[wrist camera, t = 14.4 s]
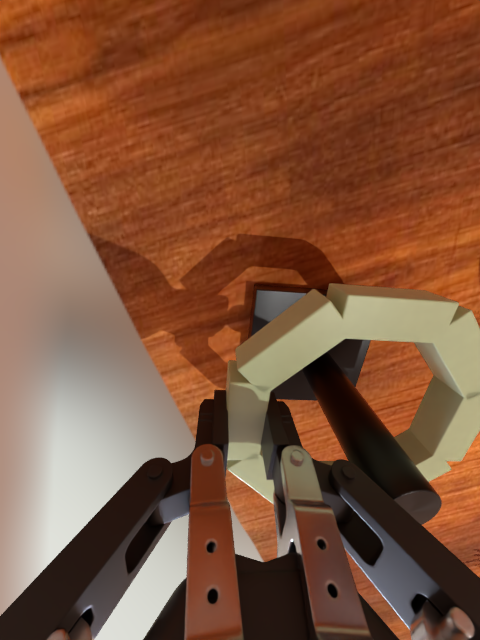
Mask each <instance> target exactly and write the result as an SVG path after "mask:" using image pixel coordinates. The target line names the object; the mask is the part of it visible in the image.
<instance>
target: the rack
mask: <svg viewBox="0 0 480 640" xmlns="http://www.w3.org/2000/svg"><path fill="white" fill-rule="evenodd" d="M311 290H312V289H309V288H296V287H283V286H269V285H256V284H255V285H254V292H253V301H252V309H251V318H250V327H249V335H248V339H249V338H250V337H251V336H253V335H254V334H255V333H257V332H258V331H259V330H261V329H262V328H263V327H264V326H266V325H267V324H268V323H270V322H271V321H272V320H273V319H275V318H276V317H277V316H279V315H280V314H281V313H283V312H284V311H285V310H286V309H288V308H289V307H290V306H292V305H293V304H294V303H296V302H297V301H298V300H299V299H301V298H302V297H303V296H305V295H306V294H307V293H308V292H310V291H311ZM316 290H317V291H318V292H320V293H321V294H322V295H323V296H325V297H326V295H327V291H328V290H323V289H316ZM370 341H371V340H363V339H344V340H343V341H341V342H340V343H338V344H337V345H336V346H334V347H333V348H331V349H330V350H328V351H327V352H326V353H324V354H323V355H321V356H320V357H318V358H317V359H316V360H314V361H313V362H311V363H310V364H308V365H307V366H306V367H304V368H303V369H301V370H300V371H298V372H297V373H296V374H294V375H293V376H291V377H290V378H288V379H287V380H286V381H284V382H283V383H281V384H280V385H278V386H277V387H276V388H274V389H273V390H271V391H270V392H274V393H275V396H276V399H288V400H318V402H319V404H320V406H321V408H322V410H323V412H324V414H325V416H326V418H327V420H328V422H329V424H330V425H331V427H332V429H333V431H334V433H335V435H336V437H337V439H338V441H339V443H340V445H341V447H342V449H343V451H344V453H345V455H346V457H347V459H348V461H349V462H351V463H353V464H355V465H356V466H357V467H358V468H359V469H360V470H361V471H363V472H364V473H365V474H366V475H367V476H368V477H369V478H370V479H371V480H372V481H374V482H375V483H376V484H377V485H378V486H379V487H380V488H381V489H382V490H383V491H385V492H386V493H387V494H388V495H389V496H390V497H391V498H392V499H393V500H394V501H396V502H397V503H398V504H399V505H400V506H401V507H402V508H403V509H404V510H405V511H406V512H408V513H409V514H410V515H411V516H412V517H413V518H414V519H415V520H416V521H417V522H419V523H420V524H421V525H422V524H424V523H426V522H427V521H429V520H430V519H432V518H433V517H434V516H435V515H436V514H437V513H438V511H439V510H440V508H441V499H440V497H439V495H438V494H437V493H436V491H435V490H434V489H433V487H432V486H431V485H430V483H429V482H428V481H427V480H426V478H425V477H424V476H423V474H422V473H421V472H420V471H419V469H418V468H417V467H416V465H415V464H414V463H413V461H412V460H411V459H410V458H409V456H408V455H407V454H406V452H405V451H404V450H403V449H402V447H401V446H400V445H399V443H398V442H397V441H396V440H395V438H394V437H393V436H392V434H391V433H390V432H389V430H388V429H387V428H386V427H385V425H384V424H383V423H382V421H381V420H380V419H379V418H378V416H377V415H376V414H375V412H374V411H373V410H372V408H371V407H370V406H369V405H368V403H367V402H366V401H365V399H364V398H363V397H362V396H361V394H360V393H359V392H358V390H357V389H356V388H355V386H356V383H357V380H358V377H359V374H360V371H361V368H362V365H363V362H364V359H365V356H366V353H367V350H368V347H369V344H370Z"/></svg>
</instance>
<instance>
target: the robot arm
mask: <svg viewBox="0 0 480 640" xmlns="http://www.w3.org/2000/svg"><path fill="white" fill-rule="evenodd" d="M228 447H229V431H228V410H227V401H226V390H215V391H214V399H204V401H203V402H202V404H201V405H200V410H199V418H198V426H197V435H196V443H195V448H194V450H193V452H192V453H191V454H190V455H189V456H188V457H187V458H185V459H183V460H181V461H178V462H175V463H170V462H169V461H168V460H167V459H165V458H154V459H151V460H149V461H147V462H145V463H144V464H143V465H142V466H141V467H140V468H139V469H138V471H136V473H135V474H134V475H133V476H132V477H131V478H130V479H129V480H128V481H127V482H126V483H125V484H124V485H123V486H122V487H121V489H120V490H119V491H118V492H117V493H116V494H115V495H114V496H113V497H112V498H111V499H110V500H109V501H108V502H107V503H106V505H105V506H104V507H103V508H102V509H101V510H100V511H99V512H98V513H97V514H96V515H95V516H94V517H93V518H92V519H91V520H90V521H89V522H88V524H87V525H86V526H85V527H84V528H83V529H82V530H81V531H80V532H79V533H78V534H77V535H76V536H75V537H74V538H73V539H72V541H71V542H70V543H69V544H68V545H67V546H66V547H65V548H64V549H63V550H62V551H61V553H59V554H58V555H57V556H56V558H55V559H54V560H53V561H52V562H51V563H50V564H49V565H48V566H47V567H46V568H45V569H44V570H43V571H42V573H40V575H39V576H38V577H37V578H36V579H35V580H34V581H33V582H32V583H31V584H30V585H29V586H28V587H27V588H26V589H25V590H24V592H23V593H22V594H21V595H20V596H19V597H18V598H17V599H16V600H15V601H14V602H13V603H12V604H11V605H10V607H8V609H7V610H6V611H5V612H4V613H3V614H2V615H1V616H0V640H94V639H95V637H96V636H97V634H98V633H99V631H100V630H101V628H102V626H103V625H104V624H105V622H106V621H107V619H108V618H109V616H110V615H111V613H112V612H113V610H114V608H115V607H116V606H117V604H118V602H119V601H120V599H121V598H122V596H123V595H124V593H125V591H126V590H127V589H128V587H129V586H130V584H131V583H132V581H133V579H134V578H135V577H136V575H137V574H138V572H139V571H140V569H141V568H142V566H143V564H144V563H145V561H146V560H147V558H148V557H149V555H150V554H151V552H152V551H153V549H154V548H155V546H156V544H157V543H158V542H159V540H160V539H161V537H162V536H163V534H164V533H165V531H166V529H167V528H168V526H169V525H170V523H171V522H172V520H175V519H177V518H180V517H182V516H185V515H187V514H189V528H188V555H187V577H186V579H184V580H183V581H182V582H181V584H180V585H179V586H178V587H177V588H176V590H175V591H174V593H173V594H172V596H171V597H170V599H169V600H168V602H167V603H166V605H165V606H164V608H163V610H162V611H161V613H160V614H159V616H158V617H157V619H156V620H155V622H154V624H153V625H152V627H151V628H150V630H149V631H148V633H147V635H146V636H145V638H144V639H143V640H399V639H398V638H397V637H396V635H395V634H394V633H393V632H392V631H391V630H390V628H389V627H388V626H387V625H386V624H385V623H384V622H383V620H382V619H381V618H380V617H379V616H378V615H377V614H376V612H375V611H374V610H373V609H372V608H371V607H370V605H369V604H368V603H367V602H366V601H365V600H364V599H363V597H362V596H361V595H360V594H359V593H358V592H357V589H356V585H355V582H354V579H353V576H352V572H351V569H350V566H349V562H348V559H347V556H346V552H345V550H346V551H347V552H348V553H349V555H350V556H351V557H352V558H353V560H354V561H355V562H356V563H357V565H358V566H359V567H360V568H361V569H362V571H363V572H364V573H365V574H366V576H367V577H368V578H369V579H370V581H371V582H372V583H373V584H374V586H375V587H376V588H377V589H378V591H379V592H380V593H381V594H382V596H383V597H384V598H385V599H386V601H387V602H388V603H389V604H390V606H391V607H392V608H393V609H394V611H395V612H396V613H397V614H398V616H399V617H400V618H401V619H402V621H403V622H404V623H405V624H406V626H407V627H408V628H409V629H410V633H411V638H412V640H480V578H479V577H478V576H477V575H476V574H475V573H473V572H472V571H471V570H470V569H469V568H468V567H467V566H466V565H465V564H464V563H462V562H461V561H460V560H459V559H458V558H457V557H456V556H455V555H454V554H453V553H451V552H450V551H449V550H448V549H447V548H446V547H445V546H444V545H443V544H442V543H441V542H439V541H438V540H437V539H436V538H435V537H434V536H433V535H432V534H431V533H430V532H428V531H427V530H426V529H425V528H424V527H423V526H422V525H421V524H420V523H419V522H417V521H416V520H415V519H414V518H413V517H412V516H411V515H410V514H409V513H408V512H406V511H405V510H404V509H403V508H402V507H401V506H400V505H399V504H398V503H397V502H396V501H394V500H393V499H392V498H391V497H390V496H389V495H388V494H387V493H386V492H385V491H383V490H382V489H381V488H380V487H379V486H378V485H377V484H376V483H375V482H374V481H372V480H371V479H370V478H369V477H368V476H367V475H366V474H365V473H364V472H363V471H361V470H360V469H359V468H358V467H357V466H356V465H355V464H353V463H351V462H349V461H347V460H336V461H334V462H333V464H332V465H328V464H325V463H322V462H319V461H316V460H314V459H313V458H311V456H310V454H309V453H308V452H307V451H306V450H305V449H304V448H303V447H302V445H301V442H300V439H299V436H298V433H297V430H296V427H295V424H294V421H293V418H292V416H291V413H290V410H289V408H288V407H287V405H286V404H285V403H284V402H282V401H277V400H276V396H275V393H274V392H270V397H269V403H268V409H267V411H266V416H265V422H264V428H263V434H262V440H261V449H262V455H263V461H264V467H265V473H266V479H267V480H273V483H274V491H273V501H274V511H275V521H276V531H277V542H278V549H277V558H275V559H273V560H270V561H268V562H260V561H257V560H254V559H250V558H247V557H244V556H241V555H237V554H235V550H234V541H233V530H232V520H231V511H230V504H229V502H228V501H227V492H226V481H225V477H226V467H227V457H228ZM344 548H345V549H344Z"/></svg>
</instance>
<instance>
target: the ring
mask: <svg viewBox="0 0 480 640" xmlns="http://www.w3.org/2000/svg"><path fill="white" fill-rule="evenodd" d="M458 305H459V303H458V302H456V301H453V300H450V299H448V298H445V297H442V296H439V295H436V294H433V293H431V292H428V291H425V290H413V289H400V288H387V287H374V286H360V285H347V284H334V283H330V284H329V287H328V291H327V295H326V297H325V296H323V295H322V294H321V293H320V292H318V291H317V290H316V289H312V290H311V291H310V292H308V293H307V294H306V295H305V296H303V297H302V298H301V299H299V300H298V301H297V302H296V303H294V304H293V305H292V306H290V307H289V308H288V309H286V310H285V311H284V312H283V313H281V314H280V315H279V316H277V317H276V318H275V319H273V320H272V321H271V322H270V323H268V324H267V325H266V326H264V327H263V328H262V329H261V330H259V331H258V332H257V333H255V334H254V335H253V336H251V337H250V338H249V339H248V340H246V341H245V342H244V343H242V344H241V345H240V346H238V347H237V348H236V349H235V350H236V360H237V361H232V360H230V361H228V370H227V382H226V401H227V410H228V431H229V447H228V457H227V469H228V470H229V471H230V472H232V473H233V474H234V475H236V476H237V477H238V478H240V479H241V480H242V481H244V482H245V483H246V484H248V485H249V486H250V487H252V488H253V489H254V490H255V491H257V492H258V493H259V494H261V495H262V496H263V497H265V498H266V499H267V500H269V501H270V502H271V503H273V504H274V501H273V491H274V483H273V480H267V479H266V473H265V467H264V461H263V455H262V449H261V440H262V434H263V428H264V422H265V416H266V411H267V409H268V403H269V397H270V391H271V390H273V389H274V388H276V387H277V386H278V385H280V384H281V383H283V382H284V381H286V380H287V379H288V378H290V377H291V376H293V375H294V374H296V373H297V372H298V371H300V370H301V369H303V368H304V367H306V366H307V365H308V364H310V363H311V362H313V361H314V360H316V359H317V358H318V357H320V356H321V355H323V354H324V353H326V352H327V351H328V350H330V349H331V348H333V347H334V346H336V345H337V344H338V343H340V342H341V341H343V340H344V339H363V340H382V341H400V342H414V343H415V345H416V347H417V348H418V350H419V352H420V353H421V355H422V357H423V358H424V360H425V361H426V363H427V365H428V366H429V368H430V370H431V371H432V373H433V378H432V380H431V382H430V384H429V386H428V389H427V391H426V393H425V395H424V397H423V399H422V402H421V404H420V406H419V408H418V410H417V413H416V415H415V417H414V419H413V421H412V423H411V426H410V428H409V429H408V430H406V431H404V432H403V433H401V434H399V435H398V436H396V437H394V438H395V440H396V441H397V442H398V443H399V445H400V446H401V447H402V449H403V450H404V451H405V452H406V454H407V455H408V456H409V458H410V459H411V460H412V461H413V463H414V464H415V465H416V467H417V468H418V469H419V471H420V472H421V473H422V474H423V476H424V477H425V478H426V480H427V481H428V482H429V481H431V480H433V479H435V478H437V477H439V476H441V475H442V474H444V473H446V472H448V471H450V470H452V469H451V467H450V466H449V465H448V463H447V462H446V461H462V459H463V457H464V456H465V454H466V452H467V451H468V449H469V447H470V446H471V444H472V442H473V441H474V439H475V437H476V436H477V434H478V432H479V431H480V328H479V326H478V323H477V321H476V319H475V317H474V315H473V313H472V311H471V310H469V309H466V308H464V307H461V306H458ZM319 462H322V463H325V464H328V465H332V464H333V462H334V461H319Z"/></svg>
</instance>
